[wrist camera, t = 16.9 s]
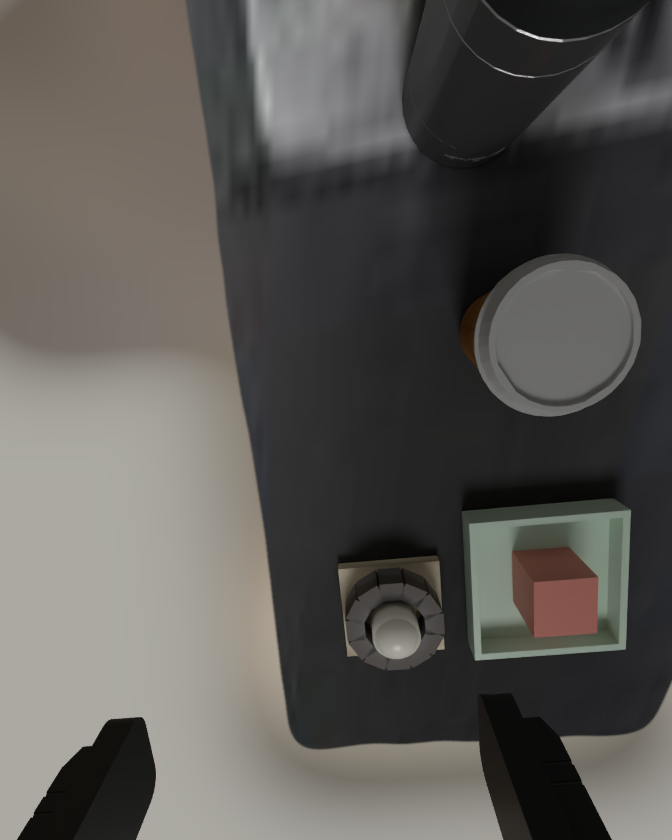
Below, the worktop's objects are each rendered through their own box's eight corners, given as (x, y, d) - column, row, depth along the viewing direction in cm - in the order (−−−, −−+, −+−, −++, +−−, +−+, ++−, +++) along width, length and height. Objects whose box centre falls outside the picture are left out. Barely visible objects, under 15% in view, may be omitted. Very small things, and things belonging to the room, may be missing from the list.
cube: (511, 551, 42) (533, 582, 37) (568, 546, 42) (598, 577, 37) (512, 601, 43) (534, 637, 38) (568, 597, 43) (597, 633, 38)
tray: (461, 511, 42) (469, 523, 39) (613, 498, 42) (630, 510, 39) (467, 640, 45) (475, 660, 42) (609, 630, 44) (625, 649, 42)
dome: (368, 597, 42) (371, 628, 38) (414, 594, 42) (421, 624, 38) (372, 637, 43) (375, 671, 39) (417, 633, 43) (424, 667, 39)
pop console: (338, 563, 43) (337, 585, 40) (437, 555, 43) (444, 576, 40) (347, 648, 45) (347, 676, 42) (442, 641, 45) (450, 668, 42)
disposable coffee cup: (581, 313, 38) (686, 313, 26) (508, 410, 40) (576, 450, 28) (486, 245, 37) (550, 214, 25) (416, 348, 39) (446, 363, 27)
